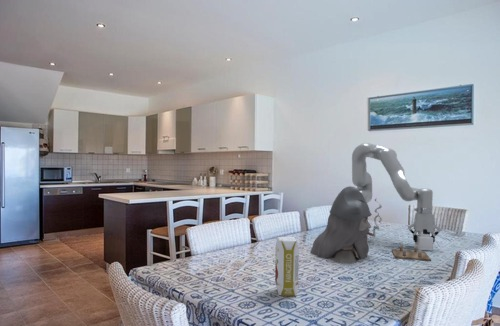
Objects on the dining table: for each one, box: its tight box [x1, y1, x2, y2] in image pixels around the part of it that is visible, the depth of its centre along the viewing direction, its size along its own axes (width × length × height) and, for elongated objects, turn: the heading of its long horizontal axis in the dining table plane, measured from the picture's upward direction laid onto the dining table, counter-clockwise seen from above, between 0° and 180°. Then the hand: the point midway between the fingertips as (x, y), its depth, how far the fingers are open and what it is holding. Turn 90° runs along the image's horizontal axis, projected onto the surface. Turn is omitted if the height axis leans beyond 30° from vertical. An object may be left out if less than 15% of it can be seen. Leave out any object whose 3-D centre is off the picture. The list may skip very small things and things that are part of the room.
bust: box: [310, 185, 383, 265], centre depth 174 cm, size 34×34×35 cm
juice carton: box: [274, 236, 300, 297], centre depth 120 cm, size 8×9×19 cm
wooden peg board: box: [391, 243, 432, 262], centre depth 173 cm, size 16×16×4 cm
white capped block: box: [414, 229, 434, 252], centre depth 188 cm, size 7×7×12 cm
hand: (423, 242), depth 188 cm, fingers closed on white capped block, 7 cm apart
